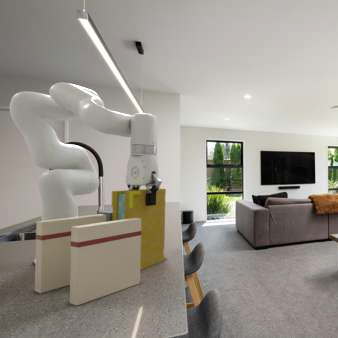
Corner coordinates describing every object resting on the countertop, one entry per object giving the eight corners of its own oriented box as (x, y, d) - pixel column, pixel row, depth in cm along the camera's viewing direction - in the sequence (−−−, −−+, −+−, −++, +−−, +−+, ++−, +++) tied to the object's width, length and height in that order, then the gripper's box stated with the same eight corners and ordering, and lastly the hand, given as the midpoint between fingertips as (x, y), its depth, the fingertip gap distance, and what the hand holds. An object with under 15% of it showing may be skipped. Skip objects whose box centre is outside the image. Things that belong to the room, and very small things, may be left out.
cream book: (34, 291, 74) (35, 221, 74) (99, 272, 88) (100, 213, 88) (40, 293, 73) (42, 222, 73) (105, 274, 87) (106, 214, 87)
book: (128, 275, 86) (130, 191, 86) (109, 273, 87) (111, 191, 88) (168, 259, 102) (170, 188, 103) (152, 257, 104) (154, 188, 104)
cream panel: (69, 303, 68) (70, 226, 68) (133, 281, 81) (134, 217, 82) (76, 305, 66) (78, 227, 67) (140, 283, 80) (141, 218, 80)
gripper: (115, 151, 95) (114, 204, 95) (151, 149, 88) (149, 207, 88) (137, 152, 102) (136, 202, 102) (172, 151, 95) (171, 205, 95)
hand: (142, 204), depth 95 cm, fingers closed on book, 7 cm apart
